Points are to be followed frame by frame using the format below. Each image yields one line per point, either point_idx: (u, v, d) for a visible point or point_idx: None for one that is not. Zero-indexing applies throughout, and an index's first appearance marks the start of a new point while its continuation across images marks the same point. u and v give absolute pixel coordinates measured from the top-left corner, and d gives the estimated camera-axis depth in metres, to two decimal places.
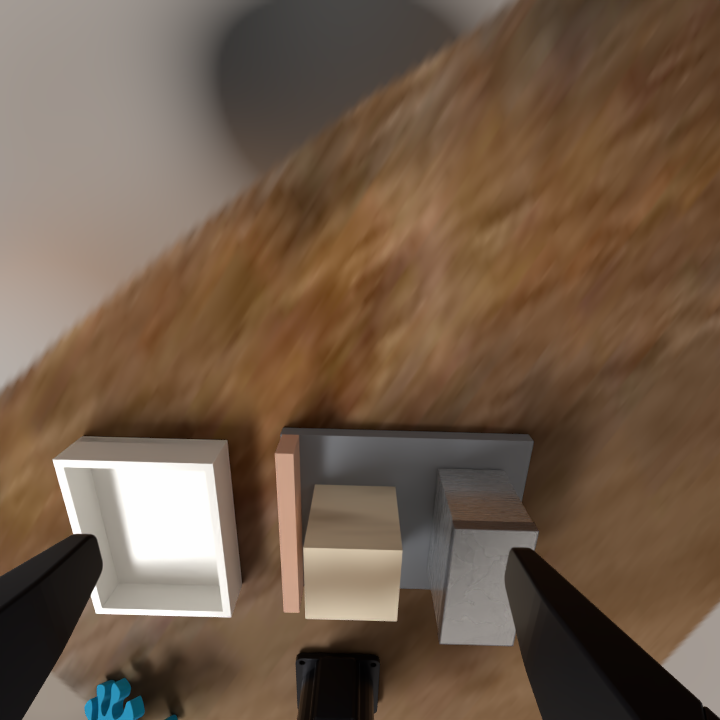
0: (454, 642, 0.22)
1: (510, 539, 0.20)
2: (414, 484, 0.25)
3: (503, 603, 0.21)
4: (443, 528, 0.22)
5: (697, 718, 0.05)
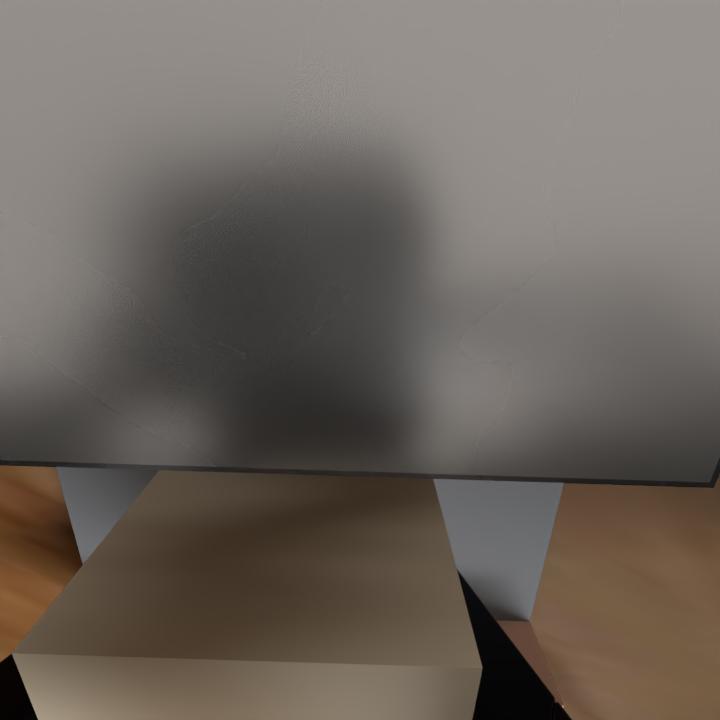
0: None
1: None
2: None
3: (321, 10, 0.02)
4: None
5: (544, 713, 0.05)
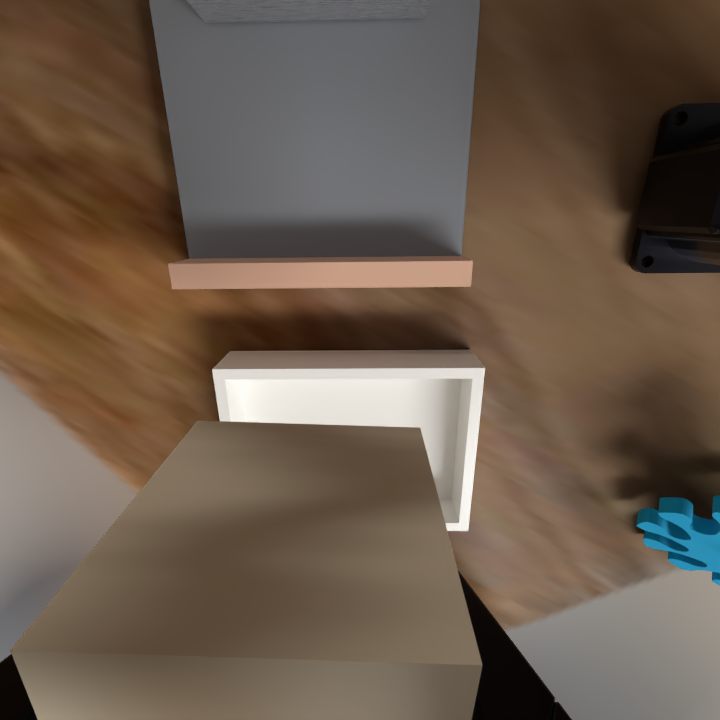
0: None
1: None
2: (245, 66, 0.15)
3: None
4: None
5: (544, 713, 0.05)
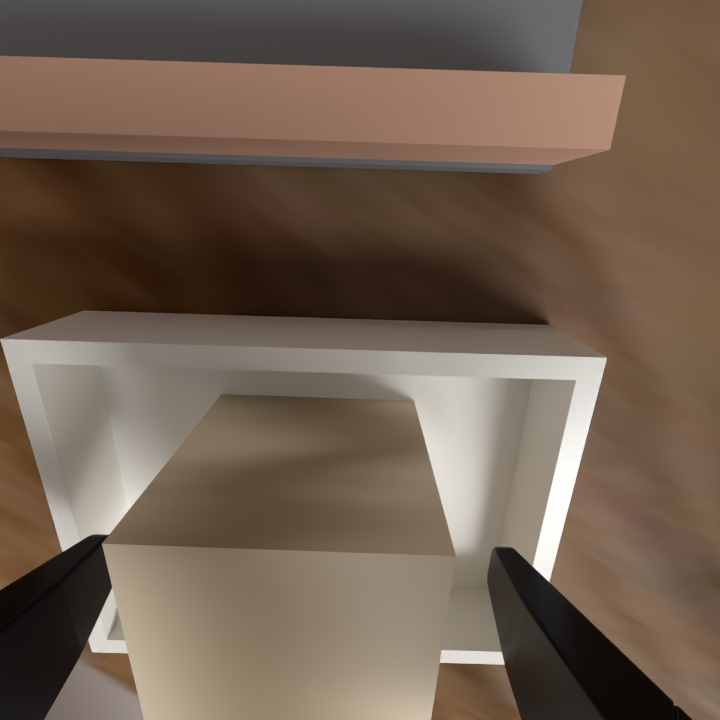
0: None
1: None
2: None
3: None
4: None
5: (667, 717, 0.05)
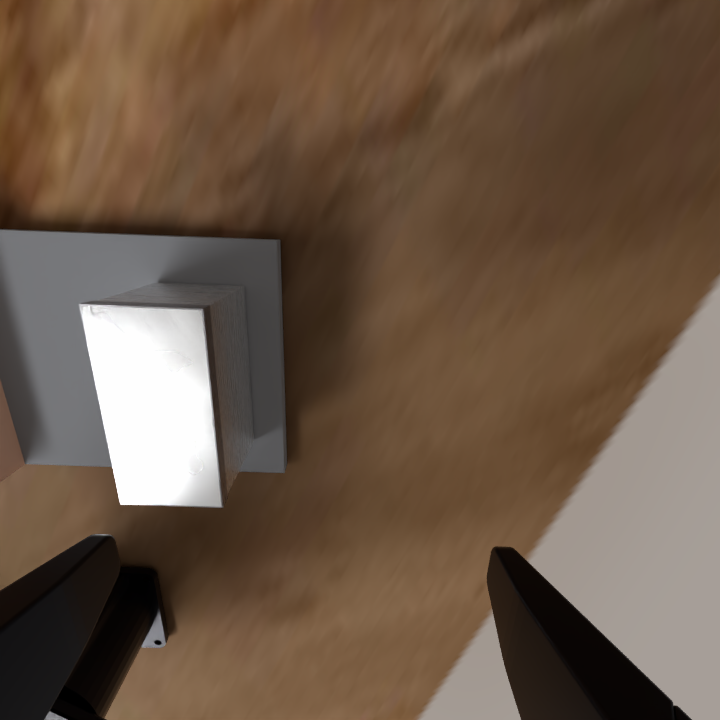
0: (139, 501, 0.16)
1: (165, 324, 0.13)
2: None
3: (188, 436, 0.15)
4: None
5: (667, 717, 0.05)
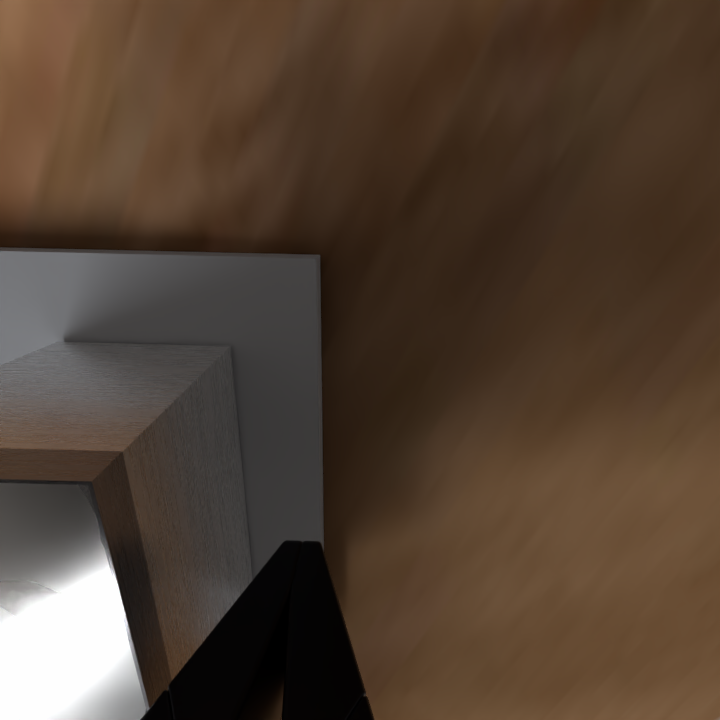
0: None
1: None
2: None
3: None
4: None
5: (347, 707, 0.05)
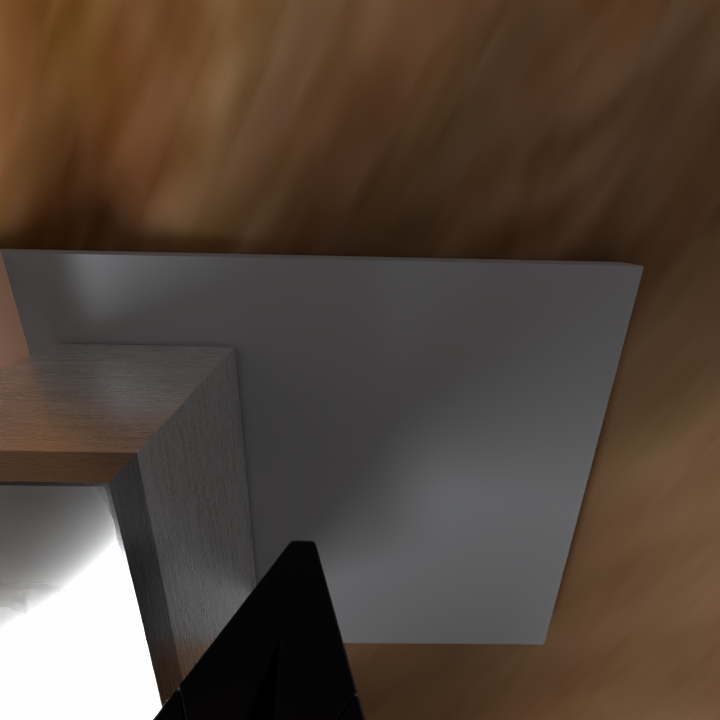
0: None
1: (5, 522, 0.05)
2: (332, 397, 0.10)
3: None
4: None
5: (337, 707, 0.05)
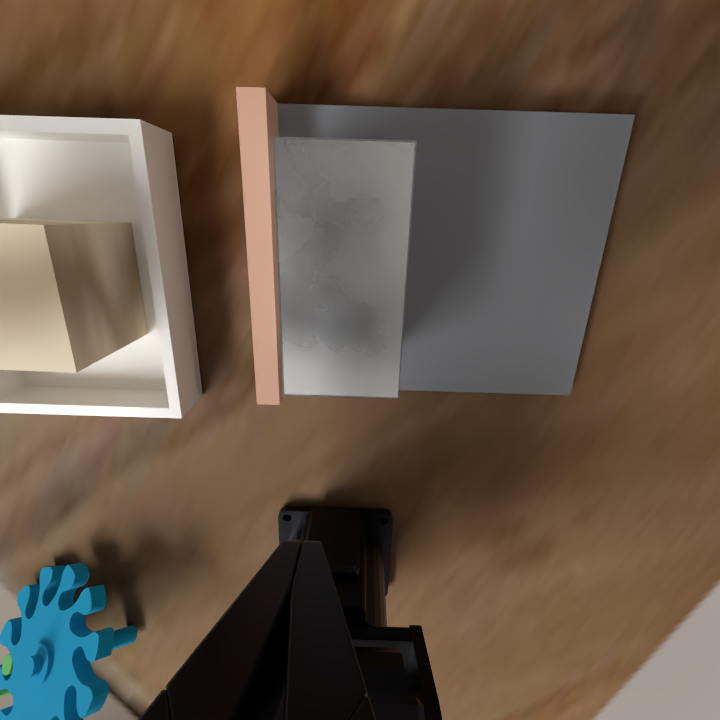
0: (305, 391, 0.14)
1: (370, 161, 0.11)
2: (450, 200, 0.17)
3: (374, 308, 0.13)
4: None
5: (348, 707, 0.05)
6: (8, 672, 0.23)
